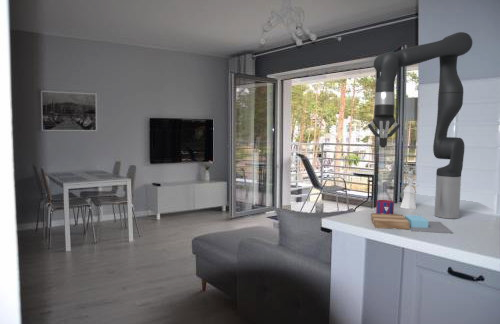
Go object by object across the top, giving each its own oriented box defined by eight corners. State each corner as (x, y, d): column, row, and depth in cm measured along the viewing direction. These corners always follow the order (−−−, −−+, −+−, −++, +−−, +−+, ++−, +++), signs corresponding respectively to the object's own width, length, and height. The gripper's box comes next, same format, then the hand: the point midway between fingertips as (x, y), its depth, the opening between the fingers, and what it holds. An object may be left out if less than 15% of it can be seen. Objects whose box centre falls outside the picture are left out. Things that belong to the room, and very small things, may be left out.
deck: (370, 219, 157) (371, 213, 157) (402, 220, 155) (402, 214, 155) (375, 227, 144) (375, 221, 144) (409, 229, 142) (409, 222, 141)
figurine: (420, 208, 181) (422, 170, 179) (405, 209, 179) (406, 170, 177) (410, 205, 187) (412, 168, 186) (395, 206, 186) (397, 168, 184)
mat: (402, 220, 155) (402, 219, 155) (440, 222, 153) (440, 221, 153) (410, 231, 140) (410, 229, 140) (453, 233, 137) (453, 232, 137)
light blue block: (404, 221, 153) (404, 215, 152) (420, 222, 152) (420, 215, 152) (411, 227, 144) (411, 220, 143) (428, 227, 143) (428, 221, 143)
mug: (377, 218, 159) (378, 202, 158) (373, 213, 169) (374, 198, 168) (394, 219, 158) (395, 202, 157) (389, 214, 168) (390, 198, 167)
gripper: (400, 104, 158) (398, 147, 160) (366, 104, 161) (364, 146, 162) (403, 103, 151) (401, 148, 152) (368, 103, 154) (366, 147, 155)
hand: (382, 147), depth 157 cm, fingers closed
